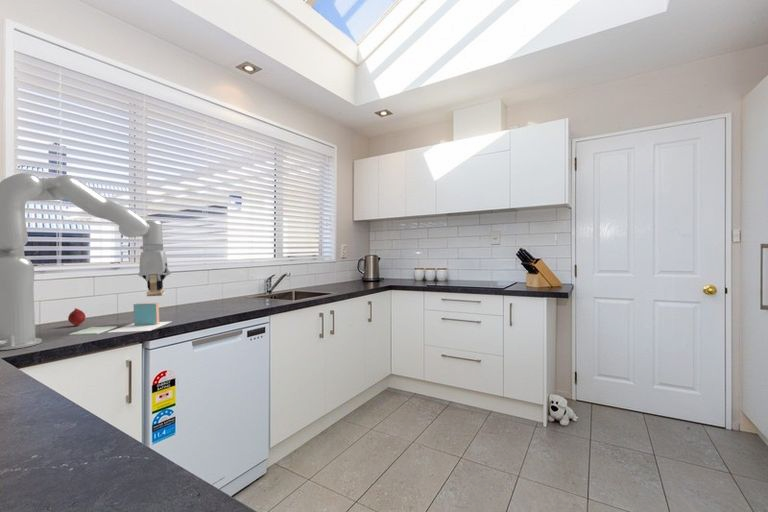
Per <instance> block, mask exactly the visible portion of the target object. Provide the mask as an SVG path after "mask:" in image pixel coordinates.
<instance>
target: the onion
mask: <svg viewBox="0 0 768 512" xmlns="http://www.w3.org/2000/svg"><path fill="white" fill-rule="evenodd" d="M67 319H68V322H69V323H71V324H72V325H73V326H75V327H78V326H80V325H81V324H83V323H84V322H85V320H86V314H85V312H84V311H82V310H81V309H80V308H77V307H75V308H74V310H73V311H71V312H70V314H69V315H68V317H67Z"/></svg>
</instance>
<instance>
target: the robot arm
mask: <svg viewBox="0 0 768 512" xmlns="http://www.w3.org/2000/svg"><path fill="white" fill-rule="evenodd" d="M63 200H66V201H68V202H69V203H71V204H73V205H74V206H76V207H77V208H79V209H81V210H82V211H84V212H85V213H87V214H89V215H90V216H93V217H95V218H99V219H103V220H107V221H109V222H111V223H114V224H116V225H117V226H118V231H119V233H120V234H121V235H122V236H124V237H126V238H138V237H142V245H140V247H139V249H140V250H142V251H141V252H140V256H139V272H138V274H137V275H138V276H139V277H140V278H143V279H144V280H145V281H146V283H147V286H146V287H147V290H148V291H150V280H149V274H157V277H158V281H157V290H163V287H164V285H163V284H164V283H163V282H164V280H165V278H166V277H168V276H170V275H171V274H172V273H171V272H170V270H169V266H168V264H169V263H168V260H167V259H168V258H167V255H166V251H164V243H163V242H164V240H163V223H162V222H161V220H155V219H154V220H153V219H152V220H145V219H143V217H141V216H139V215H138V214H136V213H135V212H133V211H132V210H130V209H129V208H126V207H125V206H123V205H120V204H119V203H116V202H115V201H113V200H110V199H109V198H106V197H105V196H103V195H102V194H100V193H99V192H97V191H96V190H94V189H93V188H91V187H90V186H89V185H87V184H86V183H84V182H82V181H81V180H79V179H77V178H76V177H74V176H72V175H69V174H63V175H59V176H56V177H49V178H48V177H45V178H44V177H43V178H42V177H41V178H40V177H38V176H36V175H35V174H32V173H28V172H20V173H16V174H12V175H10V176H7V177H6V178H4V179H2V180H1V181H0V351H8V350H10V351H11V350H17V349H22V348H28V347H32V346H36V345H39V344H42V341H43V339H42V338H40V337H36V321H35V320H36V319H35V316H36V315H35V299H34V298H35V297H34V295H35V294H34V293H35V292H34V291H35V290H34V285H35V284H34V283H35V282H34V281H35V266H34V264H33V262H32V261H31V260H30V259H29V258H28V257H26V256H25V248H24V247H25V246H26V245H27V243H28V241H29V236H28V235H29V234H28V229H27V222H26V221H27V220H26V204H27V203H28V202H29V201H30V202H31V201H32V202H33V201H34V202H35V201H63Z"/></svg>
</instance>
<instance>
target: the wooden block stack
mask: <svg viewBox="0 0 768 512" xmlns="http://www.w3.org/2000/svg"><path fill="white" fill-rule="evenodd" d="M149 280H150V290H148V291H146V297H163V296H165V290H163V289H161V290H157V281H158V277H157V274H149Z"/></svg>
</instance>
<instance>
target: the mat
mask: <svg viewBox="0 0 768 512" xmlns="http://www.w3.org/2000/svg"><path fill="white" fill-rule="evenodd" d="M170 323H171V321H159V324H157V325H136V326H134V322H133V323H130V324H127V325H124V326H121V327H117V328H114V329H111V330H108V333H124V332H125V333H127V332H128V333H129V332H130V333H131V332H149V331H150V332H151V331H153V330H155V329H158V328H160V327H163V326H165V325H167V324H170Z"/></svg>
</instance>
